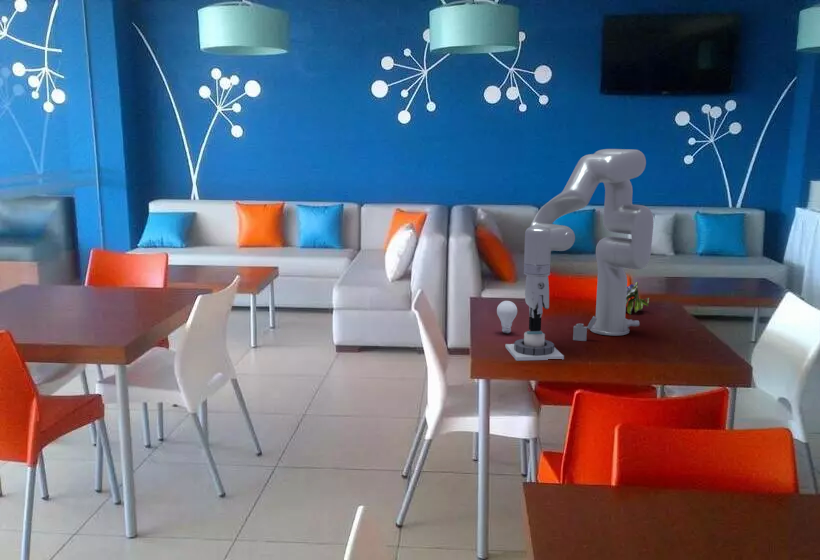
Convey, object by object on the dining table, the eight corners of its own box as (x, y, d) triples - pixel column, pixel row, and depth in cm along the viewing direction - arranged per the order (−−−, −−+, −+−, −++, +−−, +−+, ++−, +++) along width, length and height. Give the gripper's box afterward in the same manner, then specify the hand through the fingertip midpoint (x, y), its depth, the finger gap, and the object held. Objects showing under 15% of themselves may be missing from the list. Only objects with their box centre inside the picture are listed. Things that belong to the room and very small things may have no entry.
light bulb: (515, 336, 237) (516, 303, 235) (495, 335, 238) (496, 302, 236) (517, 331, 244) (518, 299, 241) (497, 330, 245) (497, 298, 243)
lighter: (572, 340, 234) (574, 315, 232) (573, 338, 235) (574, 314, 234) (595, 341, 232) (597, 317, 230) (595, 340, 233) (597, 315, 232)
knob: (541, 347, 222) (541, 328, 221) (546, 352, 216) (547, 333, 215) (521, 347, 221) (522, 329, 220) (526, 353, 215) (527, 334, 214)
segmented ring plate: (549, 346, 226) (550, 336, 226) (563, 359, 213) (564, 349, 212) (505, 347, 225) (505, 337, 224) (516, 360, 211) (516, 350, 211)
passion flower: (617, 325, 277) (610, 293, 283) (650, 320, 275) (643, 288, 281) (618, 313, 266) (611, 279, 272) (653, 308, 264) (645, 274, 270)
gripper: (557, 273, 207) (554, 336, 211) (542, 264, 222) (540, 323, 225) (531, 274, 206) (528, 337, 210) (518, 265, 221) (516, 324, 224)
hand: (534, 330), depth 218 cm, fingers closed
